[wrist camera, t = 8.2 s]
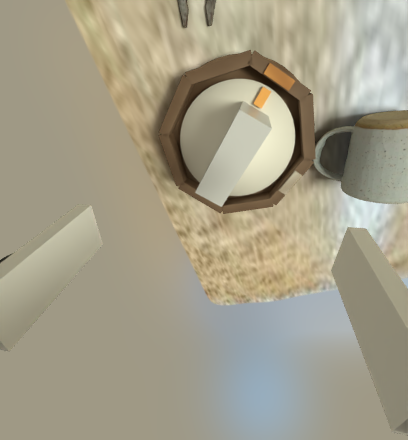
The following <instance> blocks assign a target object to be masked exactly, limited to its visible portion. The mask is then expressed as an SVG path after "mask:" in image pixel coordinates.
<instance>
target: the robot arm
mask: <svg viewBox="0 0 408 440" xmlns="http://www.w3.org/2000/svg"><path fill="white" fill-rule="evenodd" d="M102 245H103V242H102V239H101V236H100V233H99V230H98V226H97V223H96V220H95V216H94V213H93V210H92V207H91V205H83V204H78V205H77V206H75V207H74V208H73V209H71V210H70V211H69V212H68V213H67V214H65V215H64V216H62V217H61V218H60V219H58V220H57V221H56V222H54V223H53V224H52V225H50V226H49V227H48V228H47V229H45V230H44V231H42V232H41V233H40V234H39V235H37V236H36V237H34V238H33V239H32V240H31V241H29V242H28V243H26V244H25V245H24V246H22V247H21V248H20V249H19V250H17V251H16V252H14V253H13V254H10V255H8V256H6V257H4V258H3V259H1V260H0V350H4V351H10V350H11V349H12V348H13V347H14V346H15V344H16V343H17V342H18V341H19V340H20V339H21V338H22V336H23V335H24V334H25V333H26V332H27V331H28V330H29V328H30V327H31V326H32V325H33V324H34V323H35V322H36V321H37V319H38V318H39V317H40V316H41V314H43V313H44V311H45V310H46V309H47V308H48V307H49V306H50V305H51V303H52V302H53V301H54V300H55V299H56V298H57V297H58V295H59V294H60V293H61V292H62V291H63V290H64V288H65V287H66V286H67V285H68V284H69V283H70V282H71V281H72V279H73V278H74V277H75V276H76V275H77V274H78V272H79V271H80V270H81V269H82V268H83V267H84V266H85V264H86V263H87V262H88V261H89V260H90V259H91V258H92V257H93V255H94V254H95V253H96V252H97V251H98V250H99V249H100V248H101V246H102ZM331 271H332V274H333V277H334V279H335V282H336V285H337V287H338V290H339V292H340V295H341V298H342V300H343V303H344V306H345V308H346V311H347V314H348V316H349V319H350V322H351V324H352V327H353V330H354V332H355V335H356V337H357V340H358V343H359V346H360V348H361V351H362V353H363V356H364V359H365V362H366V364H367V367H368V369H369V372H370V375H371V377H372V380H373V383H374V386H375V388H376V391H377V393H378V396H379V398H380V401H381V404H382V407H383V409H384V412H385V415H386V417H387V420H388V423H389V425H390V428H391V431H392V432H394V433H399V434H404V435H408V289H407V287H406V286H405V284H404V283H403V281H402V280H401V278H400V277H399V276H398V274H397V273H396V271H395V270H394V268H393V267H392V265H391V264H390V263H389V261H388V260H387V258H386V257H385V255H384V254H383V253H382V251H381V250H380V248H379V247H378V245H377V244H376V242H375V241H374V240H373V238H372V237H371V235H370V234H369V232H368V231H367V229H364V228H352V227H348V228H347V231H346V233H345V236H344V238H343V241H342V244H341V246H340V249H339V252H338V254H337V257H336V259H335V262H334V265H333V267H332V270H331Z"/></svg>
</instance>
